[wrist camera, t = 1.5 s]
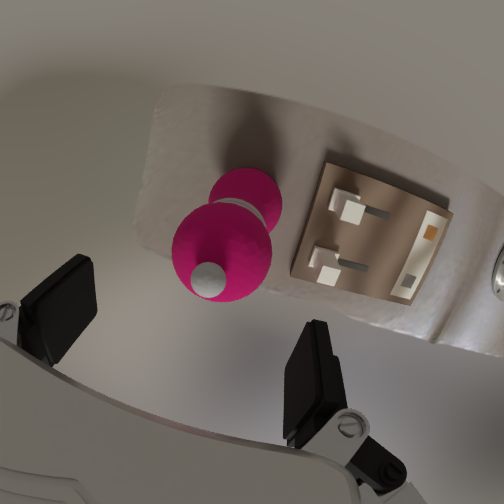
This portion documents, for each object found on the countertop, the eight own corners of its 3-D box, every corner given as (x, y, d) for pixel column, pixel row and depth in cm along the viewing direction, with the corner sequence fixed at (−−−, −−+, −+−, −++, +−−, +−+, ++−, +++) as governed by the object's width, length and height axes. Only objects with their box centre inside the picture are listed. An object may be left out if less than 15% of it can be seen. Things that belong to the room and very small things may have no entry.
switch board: (447, 210, 28) (454, 214, 27) (406, 300, 34) (410, 306, 33) (324, 161, 28) (326, 162, 27) (289, 270, 34) (290, 277, 33)
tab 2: (359, 195, 28) (371, 205, 24) (352, 215, 29) (362, 228, 25) (334, 187, 28) (342, 196, 24) (327, 207, 29) (334, 220, 25)
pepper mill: (282, 163, 29) (284, 214, 11) (281, 225, 32) (279, 349, 14) (217, 164, 30) (123, 216, 12) (220, 224, 33) (152, 338, 14)
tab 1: (338, 252, 31) (346, 269, 27) (331, 270, 32) (337, 289, 28) (314, 245, 31) (319, 262, 27) (308, 263, 32) (311, 282, 28)
